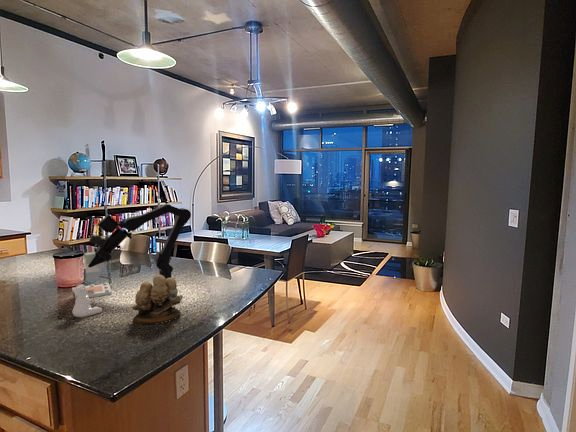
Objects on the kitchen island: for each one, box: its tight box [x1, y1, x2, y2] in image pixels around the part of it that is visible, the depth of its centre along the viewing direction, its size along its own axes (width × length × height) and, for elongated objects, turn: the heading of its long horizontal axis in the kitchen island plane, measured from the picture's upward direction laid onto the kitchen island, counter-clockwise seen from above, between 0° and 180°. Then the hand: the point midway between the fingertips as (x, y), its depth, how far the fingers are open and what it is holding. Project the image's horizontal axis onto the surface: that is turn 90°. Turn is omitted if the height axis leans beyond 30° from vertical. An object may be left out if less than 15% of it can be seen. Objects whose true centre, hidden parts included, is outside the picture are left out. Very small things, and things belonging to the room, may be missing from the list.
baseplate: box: [74, 282, 112, 300], centre depth 161 cm, size 14×14×2 cm
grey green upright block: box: [84, 251, 100, 282], centre depth 160 cm, size 5×5×12 cm
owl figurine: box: [131, 273, 183, 325], centre depth 133 cm, size 18×12×17 cm, turn 120°
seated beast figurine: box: [71, 283, 103, 318], centre depth 134 cm, size 10×9×12 cm
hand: (88, 265), depth 159 cm, fingers closed on grey green upright block, 5 cm apart
